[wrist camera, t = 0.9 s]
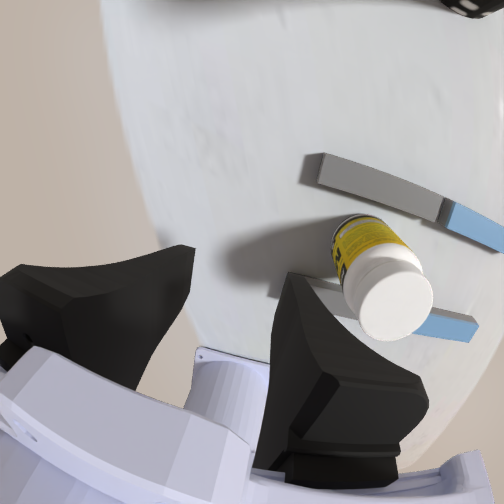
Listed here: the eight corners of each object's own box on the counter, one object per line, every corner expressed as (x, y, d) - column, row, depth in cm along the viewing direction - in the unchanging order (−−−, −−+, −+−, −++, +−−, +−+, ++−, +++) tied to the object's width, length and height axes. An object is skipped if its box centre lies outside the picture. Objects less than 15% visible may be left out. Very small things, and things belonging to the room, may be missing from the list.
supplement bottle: (318, 231, 19) (334, 292, 12) (376, 201, 18) (428, 244, 10) (345, 284, 21) (367, 360, 13) (399, 257, 19) (446, 321, 12)
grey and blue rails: (462, 332, 21) (468, 342, 19) (282, 294, 22) (281, 305, 20) (511, 231, 17) (521, 237, 15) (323, 152, 17) (326, 153, 16)
